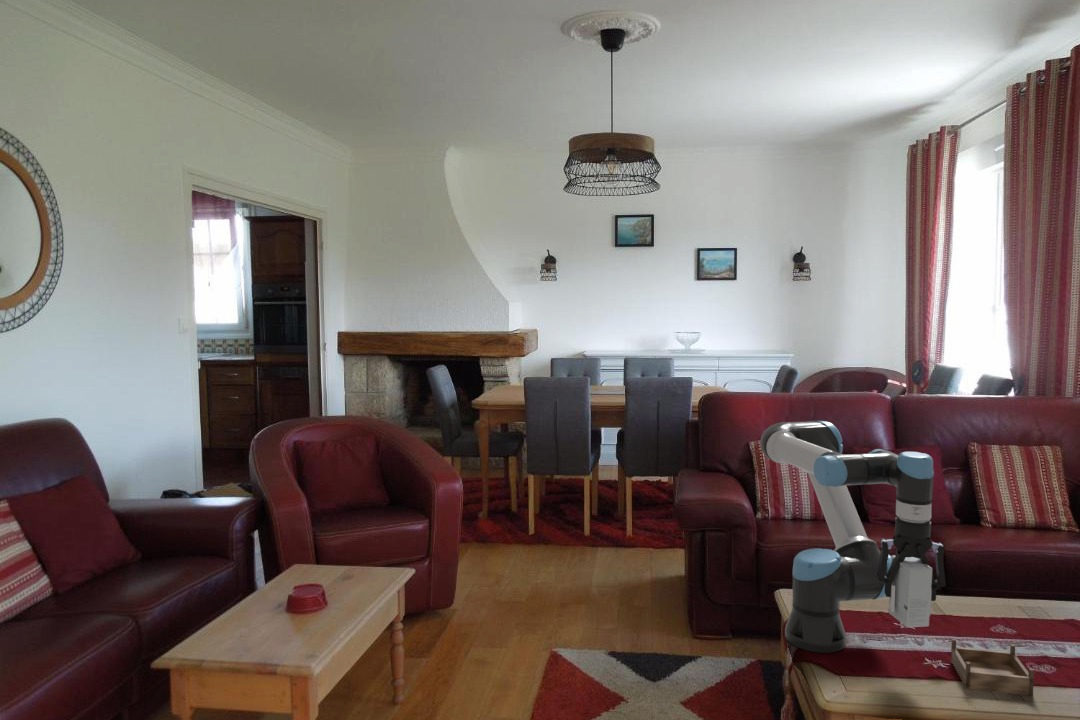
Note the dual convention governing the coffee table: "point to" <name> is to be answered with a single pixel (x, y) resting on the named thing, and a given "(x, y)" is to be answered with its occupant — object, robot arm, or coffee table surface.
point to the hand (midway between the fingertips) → (909, 611)
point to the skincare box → (912, 593)
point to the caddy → (992, 670)
